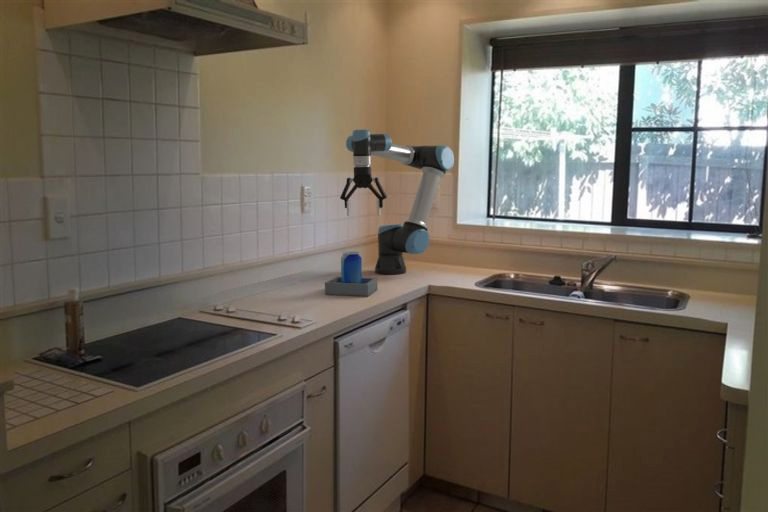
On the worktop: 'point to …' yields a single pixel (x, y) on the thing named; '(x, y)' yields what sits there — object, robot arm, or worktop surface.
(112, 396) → the worktop surface
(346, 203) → the robot arm
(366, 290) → the caddy
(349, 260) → the beer can
